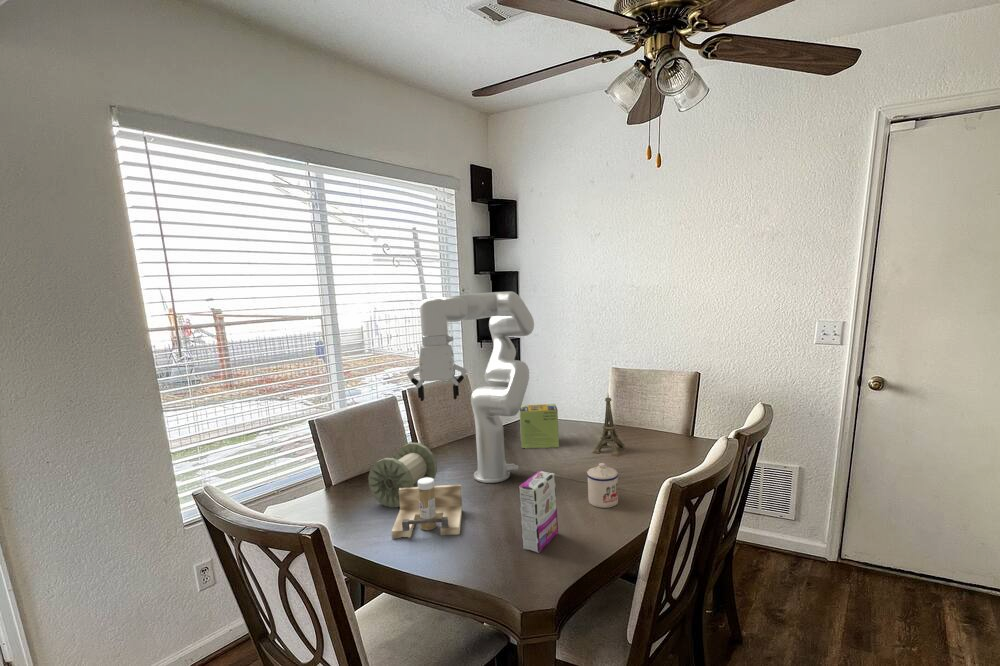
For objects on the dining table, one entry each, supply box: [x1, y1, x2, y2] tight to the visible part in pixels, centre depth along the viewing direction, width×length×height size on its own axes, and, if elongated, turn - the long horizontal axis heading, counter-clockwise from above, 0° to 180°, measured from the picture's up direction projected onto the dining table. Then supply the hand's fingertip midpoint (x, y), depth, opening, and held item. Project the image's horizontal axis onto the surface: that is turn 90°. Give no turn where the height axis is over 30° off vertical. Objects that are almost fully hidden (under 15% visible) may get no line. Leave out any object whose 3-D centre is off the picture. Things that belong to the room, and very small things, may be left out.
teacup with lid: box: [586, 462, 619, 509], centre depth 144 cm, size 12×9×12 cm
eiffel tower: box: [591, 394, 628, 458], centre depth 187 cm, size 11×11×25 cm
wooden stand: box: [390, 484, 463, 539], centre depth 135 cm, size 18×14×8 cm
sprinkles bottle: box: [418, 477, 438, 531], centre depth 133 cm, size 5×5×13 cm
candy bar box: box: [518, 470, 559, 554], centre depth 123 cm, size 11×5×16 cm, turn 148°
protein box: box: [519, 403, 560, 449], centre depth 200 cm, size 10×15×16 cm
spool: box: [367, 442, 438, 509], centre depth 155 cm, size 16×15×15 cm
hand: (439, 399), depth 142 cm, fingers open, 9 cm apart
